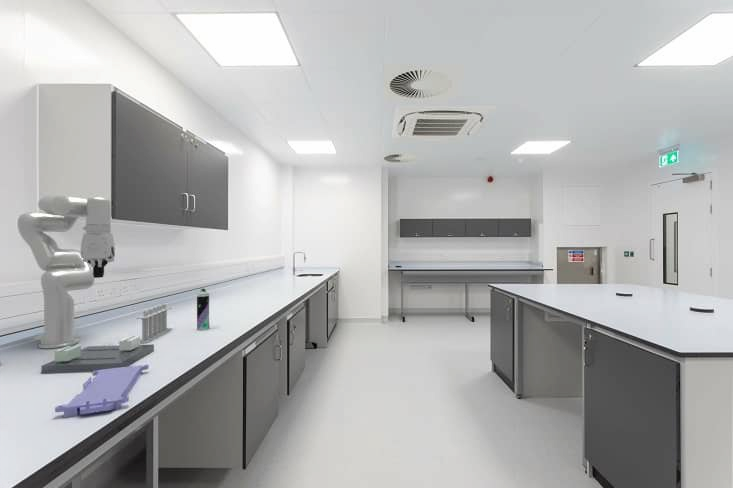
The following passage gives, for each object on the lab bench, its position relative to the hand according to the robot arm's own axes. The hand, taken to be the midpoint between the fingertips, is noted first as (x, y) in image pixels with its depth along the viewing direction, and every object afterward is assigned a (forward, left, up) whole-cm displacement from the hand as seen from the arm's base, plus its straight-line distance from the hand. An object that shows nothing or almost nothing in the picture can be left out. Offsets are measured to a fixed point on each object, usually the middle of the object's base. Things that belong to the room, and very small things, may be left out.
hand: (98, 277), depth 135 cm
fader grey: (+14, -5, -26) cm, 30 cm away
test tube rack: (+9, +25, -30) cm, 39 cm away
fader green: (0, -16, -26) cm, 31 cm away
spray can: (+26, +36, -29) cm, 53 cm away
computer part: (+27, -39, -30) cm, 56 cm away
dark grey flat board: (+8, -10, -29) cm, 32 cm away
